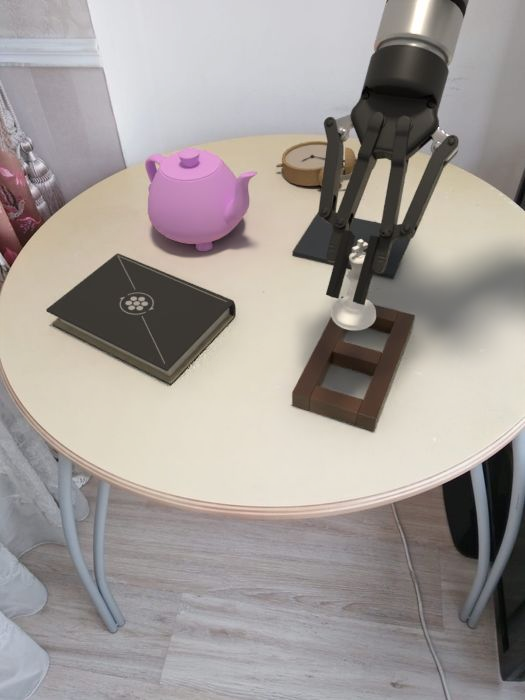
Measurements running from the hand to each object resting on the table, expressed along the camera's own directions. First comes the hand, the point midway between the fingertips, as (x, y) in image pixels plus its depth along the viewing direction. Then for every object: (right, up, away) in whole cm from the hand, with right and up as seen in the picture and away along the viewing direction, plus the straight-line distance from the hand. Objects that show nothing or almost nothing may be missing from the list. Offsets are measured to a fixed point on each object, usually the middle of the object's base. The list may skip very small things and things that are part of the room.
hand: (345, 299), depth 56 cm
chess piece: (+2, -1, +7) cm, 7 cm away
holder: (+4, -7, +16) cm, 18 cm away
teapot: (-18, +15, +38) cm, 44 cm away
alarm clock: (+3, +27, +48) cm, 55 cm away
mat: (+6, +12, +33) cm, 36 cm away
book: (-25, -1, +24) cm, 34 cm away
